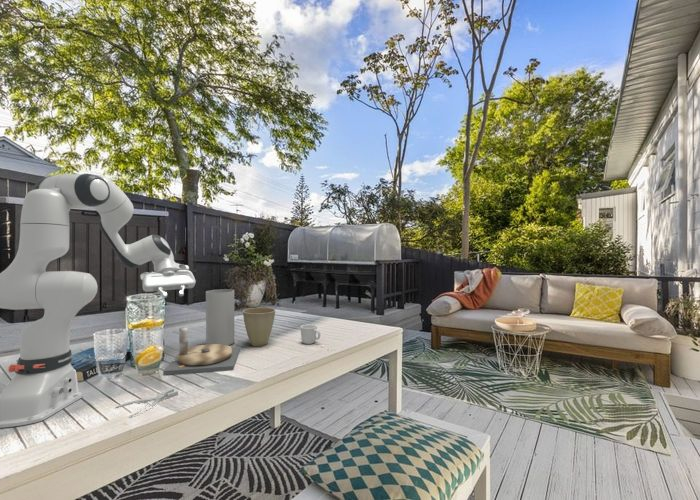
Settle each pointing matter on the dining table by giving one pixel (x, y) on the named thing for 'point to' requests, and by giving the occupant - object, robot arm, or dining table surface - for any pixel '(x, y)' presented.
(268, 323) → the plant pot
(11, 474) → the dining table surface
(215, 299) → the cylinder vase
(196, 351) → the dial
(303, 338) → the cup
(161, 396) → the pliers
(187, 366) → the dial base
